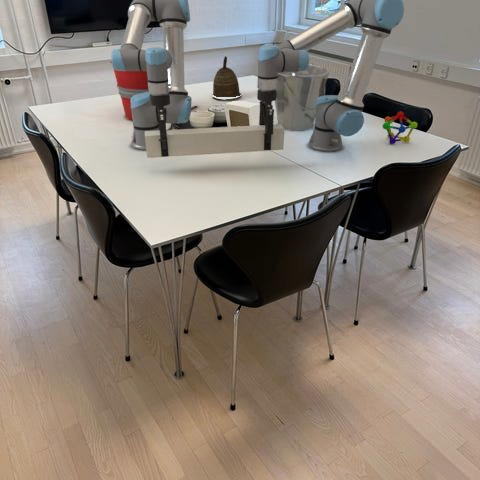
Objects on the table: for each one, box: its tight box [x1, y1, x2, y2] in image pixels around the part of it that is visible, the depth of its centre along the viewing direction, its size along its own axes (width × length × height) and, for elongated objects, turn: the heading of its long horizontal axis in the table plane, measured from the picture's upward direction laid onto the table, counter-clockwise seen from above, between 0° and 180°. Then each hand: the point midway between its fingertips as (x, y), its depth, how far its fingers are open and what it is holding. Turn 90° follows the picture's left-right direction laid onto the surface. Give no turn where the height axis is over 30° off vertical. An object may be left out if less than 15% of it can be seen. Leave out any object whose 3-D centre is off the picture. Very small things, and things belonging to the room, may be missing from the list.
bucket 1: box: [107, 60, 149, 122], centre depth 239 cm, size 35×35×30 cm
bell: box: [212, 56, 242, 97], centre depth 278 cm, size 19×26×20 cm
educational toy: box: [382, 110, 418, 145], centre depth 207 cm, size 16×13×15 cm
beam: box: [145, 123, 286, 159], centre depth 177 cm, size 55×6×9 cm, turn 101°
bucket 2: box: [274, 64, 330, 131], centre depth 226 cm, size 30×30×28 cm
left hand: (164, 153), depth 175 cm, fingers closed on beam, 6 cm apart
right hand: (265, 146), depth 182 cm, fingers closed on beam, 6 cm apart
